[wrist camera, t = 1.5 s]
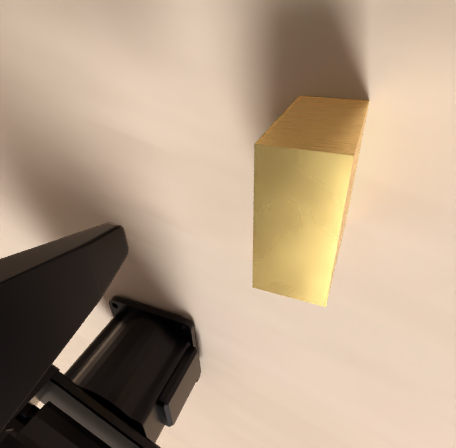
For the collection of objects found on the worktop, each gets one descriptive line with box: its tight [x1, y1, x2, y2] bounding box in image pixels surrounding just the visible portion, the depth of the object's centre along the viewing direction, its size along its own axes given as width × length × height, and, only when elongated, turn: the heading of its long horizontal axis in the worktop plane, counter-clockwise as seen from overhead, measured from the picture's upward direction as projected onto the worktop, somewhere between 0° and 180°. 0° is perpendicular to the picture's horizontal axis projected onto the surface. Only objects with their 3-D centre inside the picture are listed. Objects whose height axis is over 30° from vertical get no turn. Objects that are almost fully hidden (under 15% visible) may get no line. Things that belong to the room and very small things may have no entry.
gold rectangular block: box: [253, 96, 369, 307], centre depth 12 cm, size 2×5×5 cm, turn 2°
